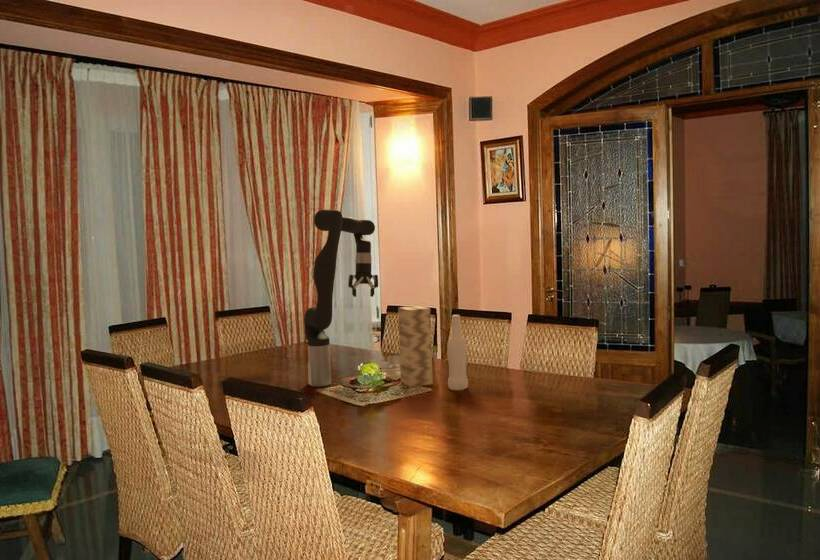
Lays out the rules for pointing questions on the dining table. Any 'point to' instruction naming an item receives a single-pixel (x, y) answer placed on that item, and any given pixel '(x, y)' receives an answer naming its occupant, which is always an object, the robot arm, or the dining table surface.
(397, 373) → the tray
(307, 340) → the robot arm
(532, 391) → the dining table surface
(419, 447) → the dining table surface
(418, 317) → the brown wavy-grained wooden cylinder
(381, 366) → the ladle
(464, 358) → the bottle
